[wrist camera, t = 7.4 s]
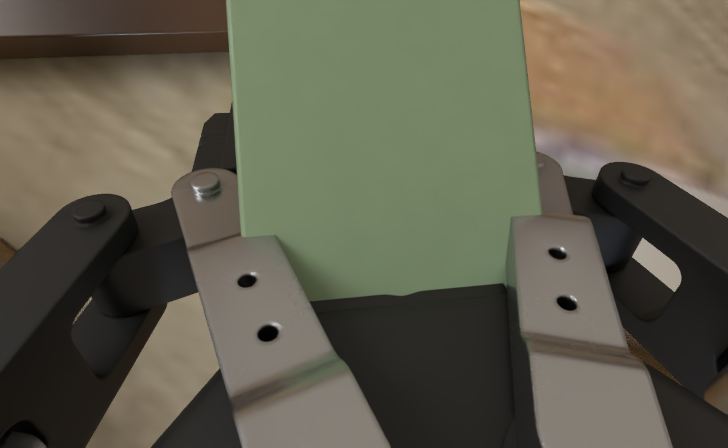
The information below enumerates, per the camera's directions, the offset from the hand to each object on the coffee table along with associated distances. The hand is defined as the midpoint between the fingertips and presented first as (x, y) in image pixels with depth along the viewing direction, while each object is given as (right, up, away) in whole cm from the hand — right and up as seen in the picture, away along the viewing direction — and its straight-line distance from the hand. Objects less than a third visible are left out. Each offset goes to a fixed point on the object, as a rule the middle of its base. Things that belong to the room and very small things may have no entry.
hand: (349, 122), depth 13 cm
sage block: (0, -2, +4) cm, 5 cm away
